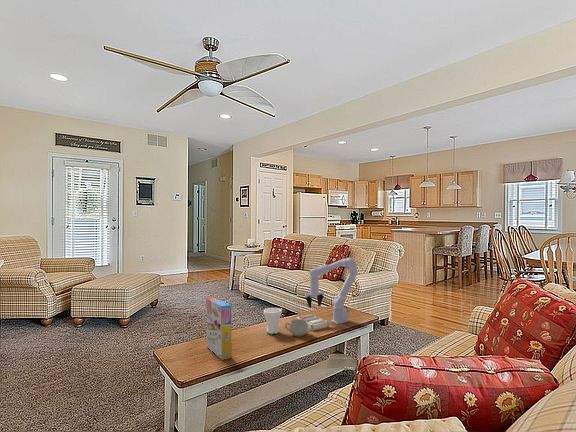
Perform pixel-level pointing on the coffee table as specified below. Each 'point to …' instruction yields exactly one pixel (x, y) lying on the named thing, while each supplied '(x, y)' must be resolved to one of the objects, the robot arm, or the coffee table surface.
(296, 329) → the teacup
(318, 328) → the cream drawer frame
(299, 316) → the terracotta key
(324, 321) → the ivory key
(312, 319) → the slate key
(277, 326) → the cup
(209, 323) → the game box
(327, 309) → the coffee table surface
